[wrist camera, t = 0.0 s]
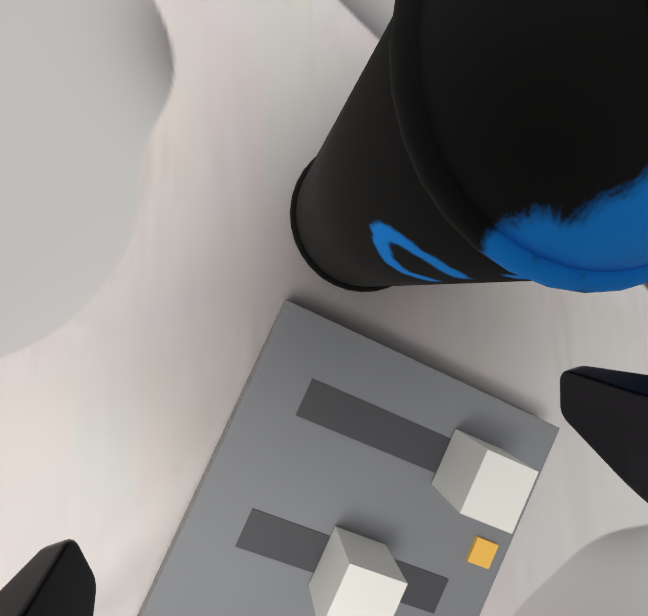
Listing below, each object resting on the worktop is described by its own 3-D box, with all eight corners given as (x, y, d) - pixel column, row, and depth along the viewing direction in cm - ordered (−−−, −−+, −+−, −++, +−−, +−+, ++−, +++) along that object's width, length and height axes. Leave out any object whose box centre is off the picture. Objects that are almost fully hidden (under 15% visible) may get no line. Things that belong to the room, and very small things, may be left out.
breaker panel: (387, 759, 25) (414, 847, 21) (103, 687, 22) (72, 775, 18) (535, 417, 26) (588, 440, 22) (284, 300, 23) (293, 302, 19)
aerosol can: (278, 149, 22) (542, -925, 3) (422, 135, 24) (1285, -616, 4) (302, 302, 23) (669, 374, 3) (441, 280, 24) (1281, 232, 5)
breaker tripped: (360, 601, 22) (378, 650, 19) (308, 584, 21) (319, 632, 18) (385, 544, 22) (407, 583, 19) (335, 526, 21) (349, 563, 18)
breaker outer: (477, 502, 23) (511, 533, 20) (431, 484, 22) (459, 513, 19) (500, 448, 23) (538, 471, 20) (455, 428, 22) (487, 449, 20)
